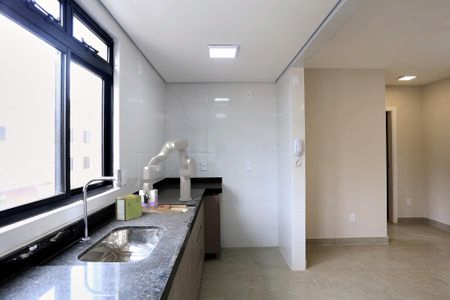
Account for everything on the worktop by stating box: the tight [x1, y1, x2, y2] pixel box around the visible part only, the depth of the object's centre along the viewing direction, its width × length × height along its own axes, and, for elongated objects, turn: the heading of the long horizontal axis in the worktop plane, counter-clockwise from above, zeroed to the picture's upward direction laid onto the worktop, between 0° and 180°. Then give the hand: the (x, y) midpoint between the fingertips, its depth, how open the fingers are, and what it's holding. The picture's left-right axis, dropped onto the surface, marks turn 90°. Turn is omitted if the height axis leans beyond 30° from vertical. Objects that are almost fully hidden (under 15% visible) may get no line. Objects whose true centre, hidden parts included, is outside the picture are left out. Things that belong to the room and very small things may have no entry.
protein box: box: [115, 194, 143, 222], centre depth 187 cm, size 10×15×16 cm
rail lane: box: [142, 204, 188, 214], centre depth 209 cm, size 15×38×2 cm, turn 83°
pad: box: [170, 208, 189, 214], centre depth 207 cm, size 11×15×1 cm
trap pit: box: [157, 204, 171, 209], centre depth 208 cm, size 11×7×3 cm, turn 173°
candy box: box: [138, 189, 159, 209], centre depth 210 cm, size 14×6×16 cm, turn 84°
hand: (148, 202), depth 210 cm, fingers open, 9 cm apart
